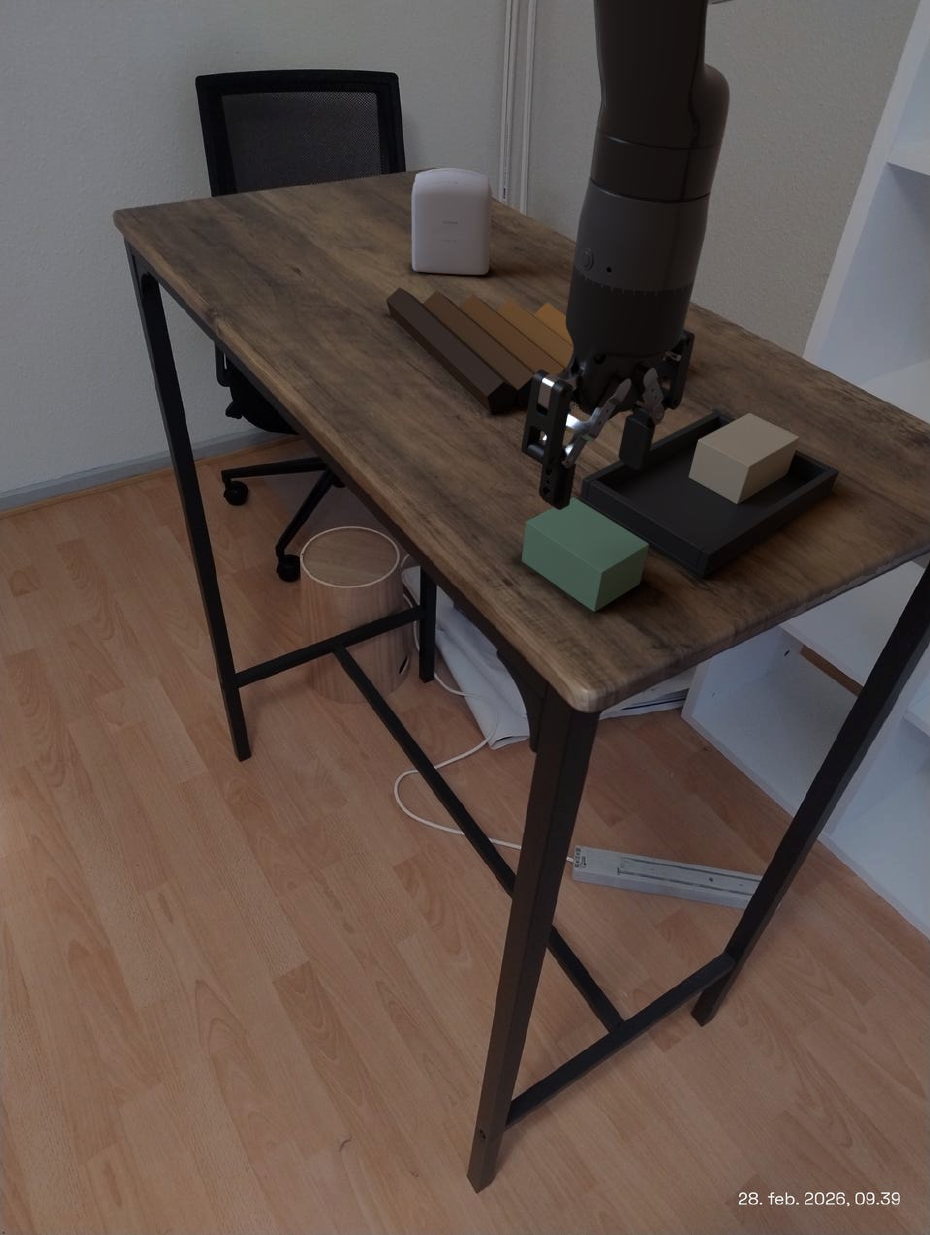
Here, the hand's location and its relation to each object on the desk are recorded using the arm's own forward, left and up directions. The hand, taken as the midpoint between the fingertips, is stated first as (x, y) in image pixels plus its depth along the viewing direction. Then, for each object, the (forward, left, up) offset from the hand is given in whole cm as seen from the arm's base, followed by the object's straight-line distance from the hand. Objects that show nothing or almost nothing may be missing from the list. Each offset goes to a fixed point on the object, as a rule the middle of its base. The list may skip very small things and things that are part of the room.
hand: (594, 483), depth 64 cm
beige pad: (0, -22, -8) cm, 23 cm away
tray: (0, -17, -9) cm, 19 cm away
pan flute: (+32, -26, -9) cm, 42 cm away
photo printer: (+54, -33, -9) cm, 64 cm away
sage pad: (0, 0, -9) cm, 9 cm away
